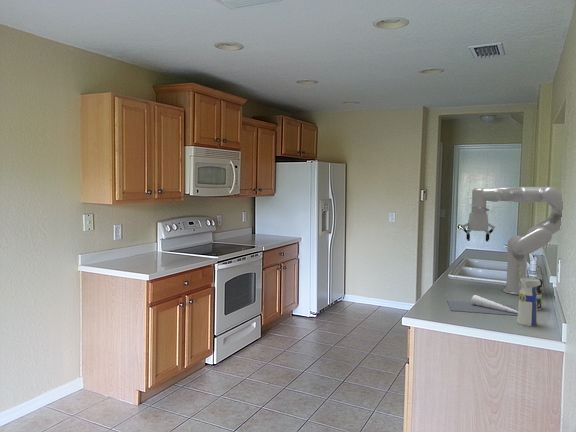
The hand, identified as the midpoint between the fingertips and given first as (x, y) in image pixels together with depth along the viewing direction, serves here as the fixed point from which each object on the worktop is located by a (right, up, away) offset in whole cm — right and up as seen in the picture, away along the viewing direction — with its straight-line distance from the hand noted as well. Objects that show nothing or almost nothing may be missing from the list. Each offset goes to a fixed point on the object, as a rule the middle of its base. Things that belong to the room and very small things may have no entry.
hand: (477, 241), depth 257 cm
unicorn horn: (-7, -31, -37) cm, 48 cm away
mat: (-12, -31, -35) cm, 48 cm away
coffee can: (+12, -31, -33) cm, 46 cm away
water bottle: (-2, -33, -58) cm, 66 cm away
